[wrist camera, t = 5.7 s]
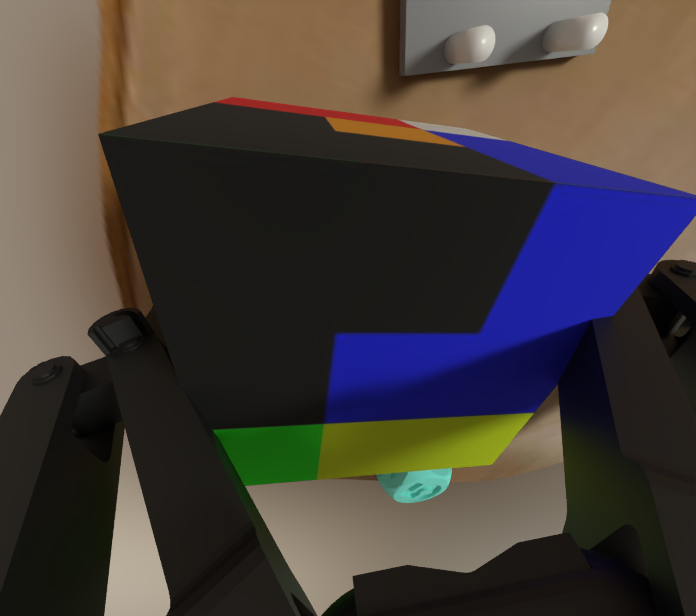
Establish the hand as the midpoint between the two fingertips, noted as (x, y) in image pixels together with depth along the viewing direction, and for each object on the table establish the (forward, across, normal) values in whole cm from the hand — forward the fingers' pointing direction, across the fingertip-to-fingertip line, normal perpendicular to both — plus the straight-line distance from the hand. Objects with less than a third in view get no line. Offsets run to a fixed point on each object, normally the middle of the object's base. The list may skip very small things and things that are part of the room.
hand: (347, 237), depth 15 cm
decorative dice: (+10, -7, +39) cm, 40 cm away
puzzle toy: (+1, 0, 0) cm, 1 cm away
